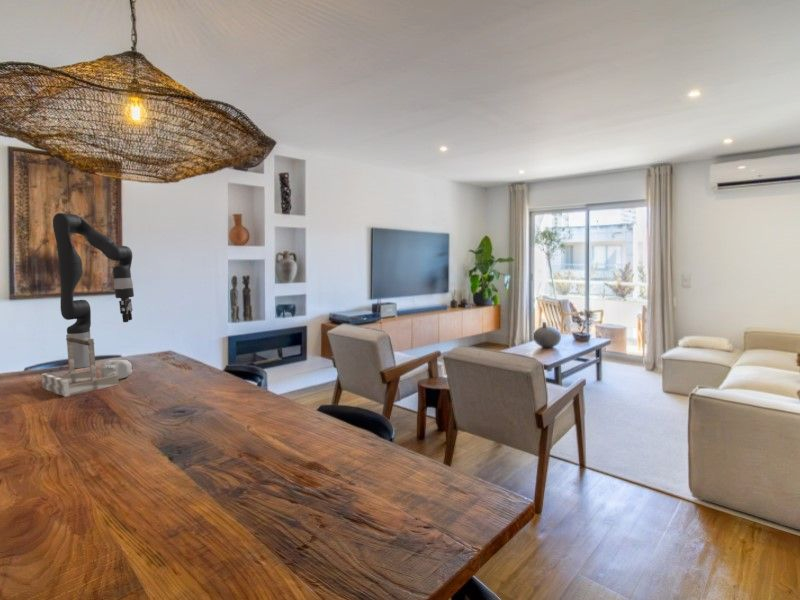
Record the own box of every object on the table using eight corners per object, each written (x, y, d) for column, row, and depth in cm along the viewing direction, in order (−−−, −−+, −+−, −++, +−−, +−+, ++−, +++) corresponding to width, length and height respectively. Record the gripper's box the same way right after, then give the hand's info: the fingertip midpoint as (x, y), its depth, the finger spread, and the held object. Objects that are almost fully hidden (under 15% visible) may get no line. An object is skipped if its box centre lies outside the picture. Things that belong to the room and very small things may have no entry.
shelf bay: (42, 388, 182) (38, 338, 180) (95, 377, 198) (91, 331, 196) (65, 396, 170) (60, 343, 168) (118, 384, 186) (115, 335, 184)
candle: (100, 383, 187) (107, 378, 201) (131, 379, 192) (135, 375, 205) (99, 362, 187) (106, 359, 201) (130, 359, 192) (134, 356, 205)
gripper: (118, 287, 214) (121, 320, 216) (111, 288, 201) (115, 323, 203) (135, 286, 217) (139, 318, 219) (129, 287, 204) (133, 321, 205)
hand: (127, 321), depth 211 cm, fingers open, 8 cm apart
